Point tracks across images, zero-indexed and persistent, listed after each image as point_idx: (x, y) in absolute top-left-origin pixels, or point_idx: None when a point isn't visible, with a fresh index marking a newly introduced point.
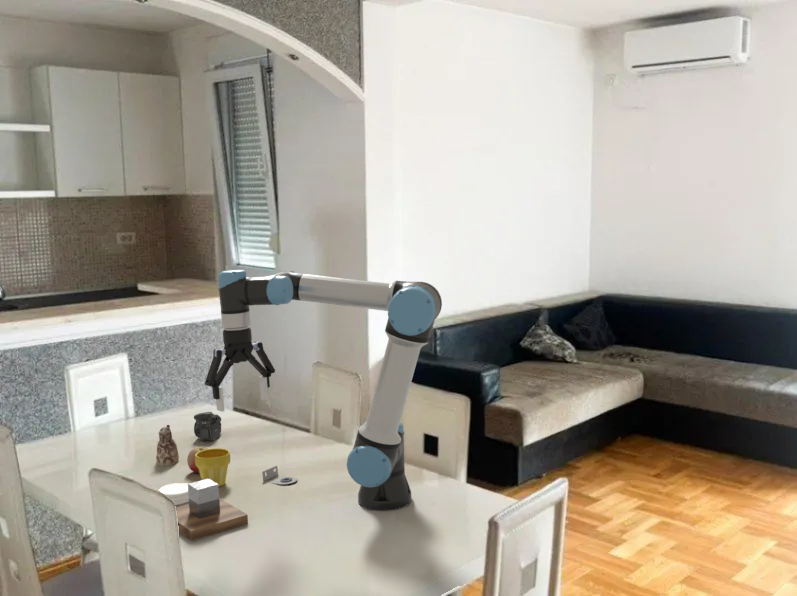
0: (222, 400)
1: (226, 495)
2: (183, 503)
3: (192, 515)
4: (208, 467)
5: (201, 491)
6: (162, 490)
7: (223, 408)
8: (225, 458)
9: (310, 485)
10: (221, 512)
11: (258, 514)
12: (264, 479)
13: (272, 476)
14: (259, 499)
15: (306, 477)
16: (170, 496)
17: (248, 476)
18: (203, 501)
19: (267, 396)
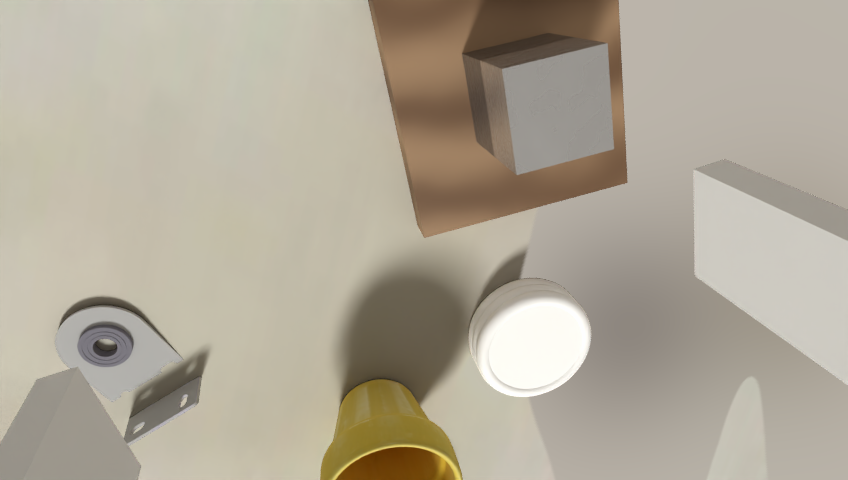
0: (823, 214)
1: (364, 296)
2: (515, 280)
3: None
4: (421, 418)
5: (584, 45)
6: (576, 349)
7: (729, 175)
8: (352, 447)
9: (4, 264)
10: (455, 56)
11: (296, 49)
12: (195, 382)
13: (156, 404)
14: (256, 206)
15: (9, 355)
16: (566, 296)
17: (246, 438)
18: (555, 44)
19: (27, 418)
